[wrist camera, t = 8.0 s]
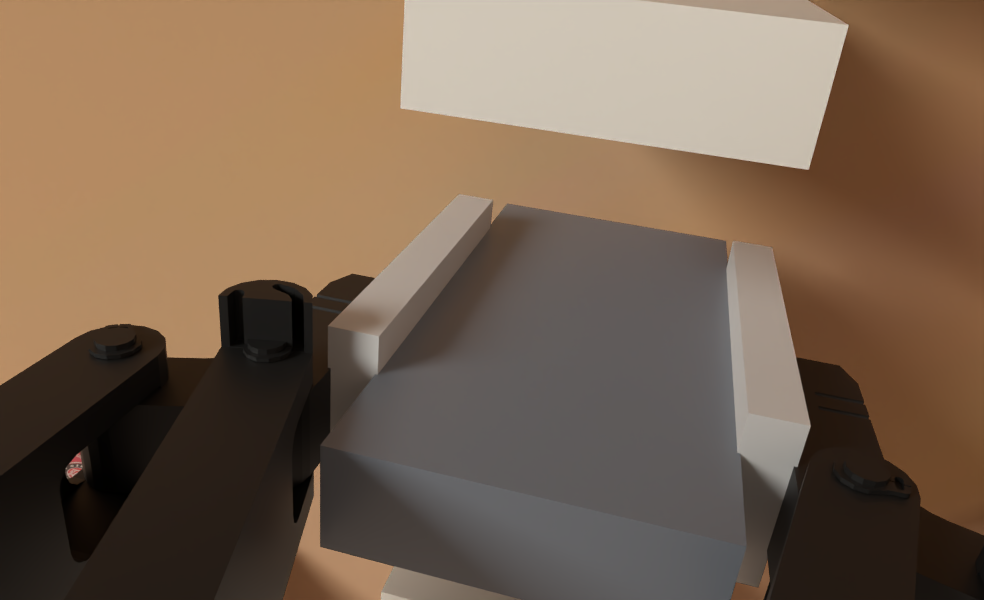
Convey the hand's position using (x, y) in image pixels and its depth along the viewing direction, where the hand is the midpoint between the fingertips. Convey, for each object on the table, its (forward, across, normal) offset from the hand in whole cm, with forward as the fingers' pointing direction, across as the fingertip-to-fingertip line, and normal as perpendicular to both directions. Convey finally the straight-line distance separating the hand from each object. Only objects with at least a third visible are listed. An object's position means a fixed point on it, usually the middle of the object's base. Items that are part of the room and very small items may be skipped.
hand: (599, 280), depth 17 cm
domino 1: (+4, 0, +5) cm, 7 cm away
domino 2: (+2, 0, 0) cm, 2 cm away
